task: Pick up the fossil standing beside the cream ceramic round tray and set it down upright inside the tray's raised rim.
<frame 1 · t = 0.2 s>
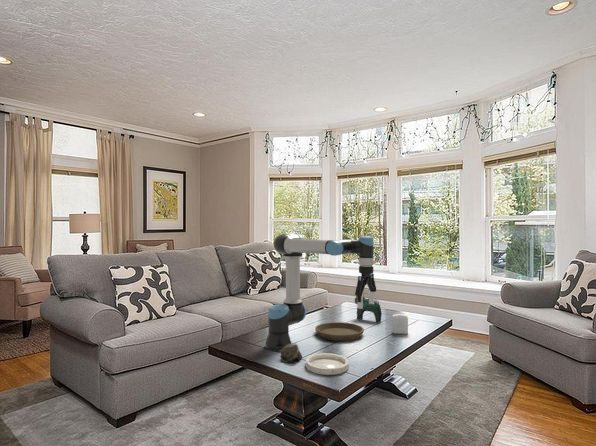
hand: (365, 306, 197), 28 cm above the table, tool pointing down, fingers open, 13 cm apart
fossil: (290, 360, 195), on the table
plant saucer: (339, 335, 239), on the table
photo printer: (399, 333, 242), on the table
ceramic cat: (368, 320, 275), on the table
round tray: (327, 366, 186), on the table
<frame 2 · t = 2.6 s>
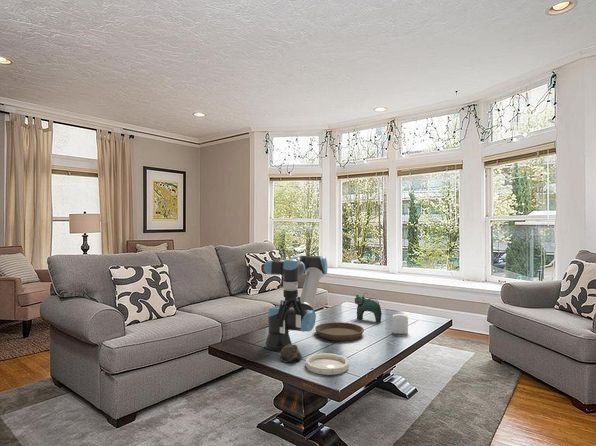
hand: (290, 330, 195), 16 cm above the table, tool pointing down, fingers open, 13 cm apart
nothing on the table moved.
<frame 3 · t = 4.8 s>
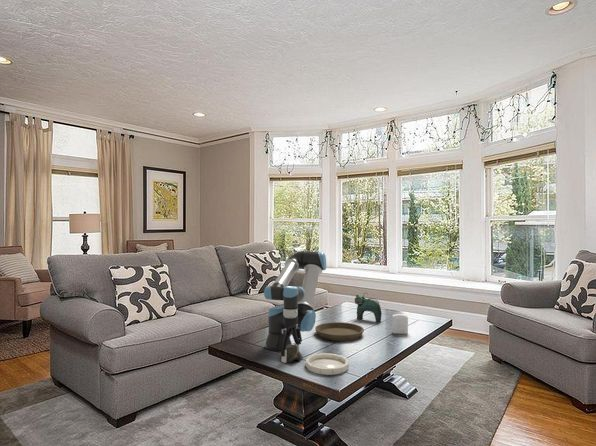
hand: (290, 359, 195), 0 cm above the table, tool pointing down, fingers closed on fossil, 10 cm apart
fossil: (290, 361, 194), on the table, touching gripper
everything else where it was.
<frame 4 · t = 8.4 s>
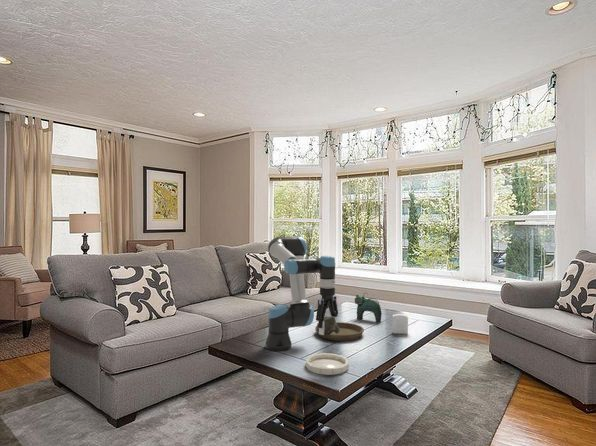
hand: (327, 331, 186), 17 cm above the table, tool pointing down, fingers closed on fossil, 10 cm apart
fossil: (327, 333, 186), point 16 cm above the table, touching gripper
everything else where it was.
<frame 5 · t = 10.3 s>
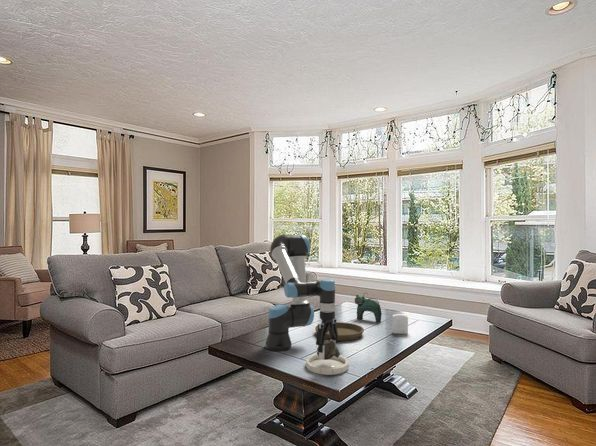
hand: (327, 355, 186), 5 cm above the table, tool pointing down, fingers closed on fossil, 10 cm apart
fossil: (327, 357, 186), point 5 cm above the table, touching gripper
everything else where it was.
when the fingers open (3 cm above the table, at t = 11.9 s): fossil drops 1 cm, resting on round tray.
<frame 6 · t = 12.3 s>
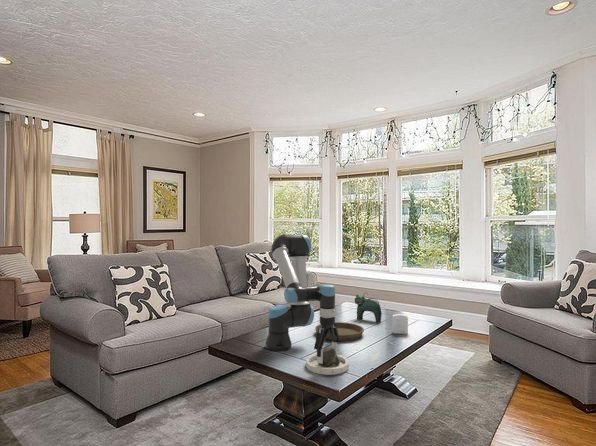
hand: (327, 358, 186), 4 cm above the table, tool pointing down, fingers open, 13 cm apart
fossil: (327, 365, 186), point 1 cm above the table, touching round tray
everything else where it was.
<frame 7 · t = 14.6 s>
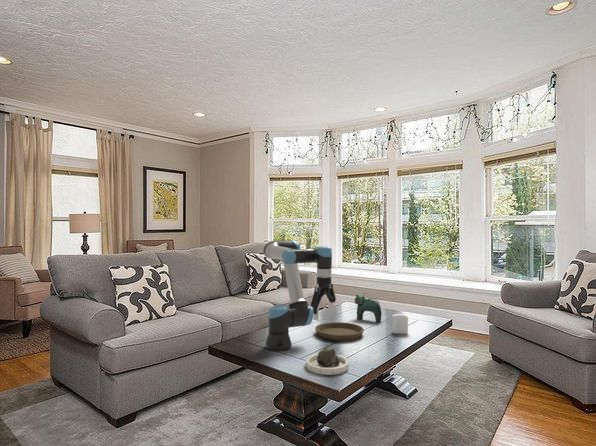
hand: (323, 317, 194), 22 cm above the table, tool pointing down, fingers open, 13 cm apart
nothing on the table moved.
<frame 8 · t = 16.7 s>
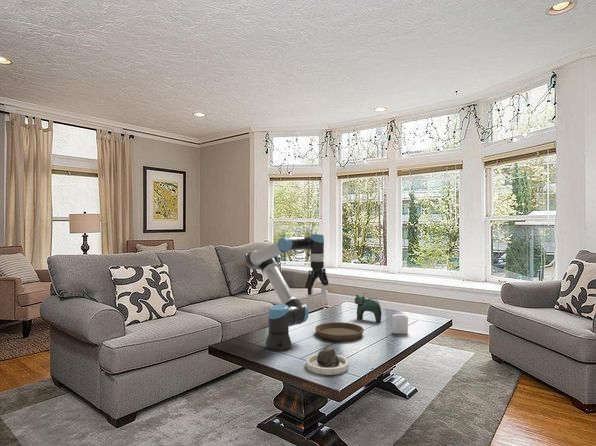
hand: (317, 298, 211), 29 cm above the table, tool pointing down, fingers open, 13 cm apart
nothing on the table moved.
at the end: fossil 0.4 cm off-centre on the round tray, point 0.6 cm above the round tray's base; fossil tilted 2°; the gripper is holding nothing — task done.
